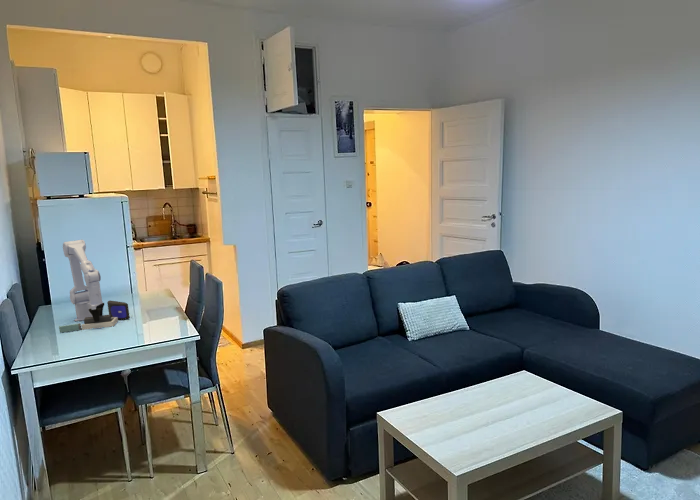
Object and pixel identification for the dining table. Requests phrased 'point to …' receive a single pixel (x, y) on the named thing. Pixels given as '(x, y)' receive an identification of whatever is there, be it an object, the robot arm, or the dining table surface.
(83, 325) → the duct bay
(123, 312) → the leaning round-cornered charcoal block
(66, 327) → the sage green post
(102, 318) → the dark brown rectangular block
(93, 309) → the robot arm
